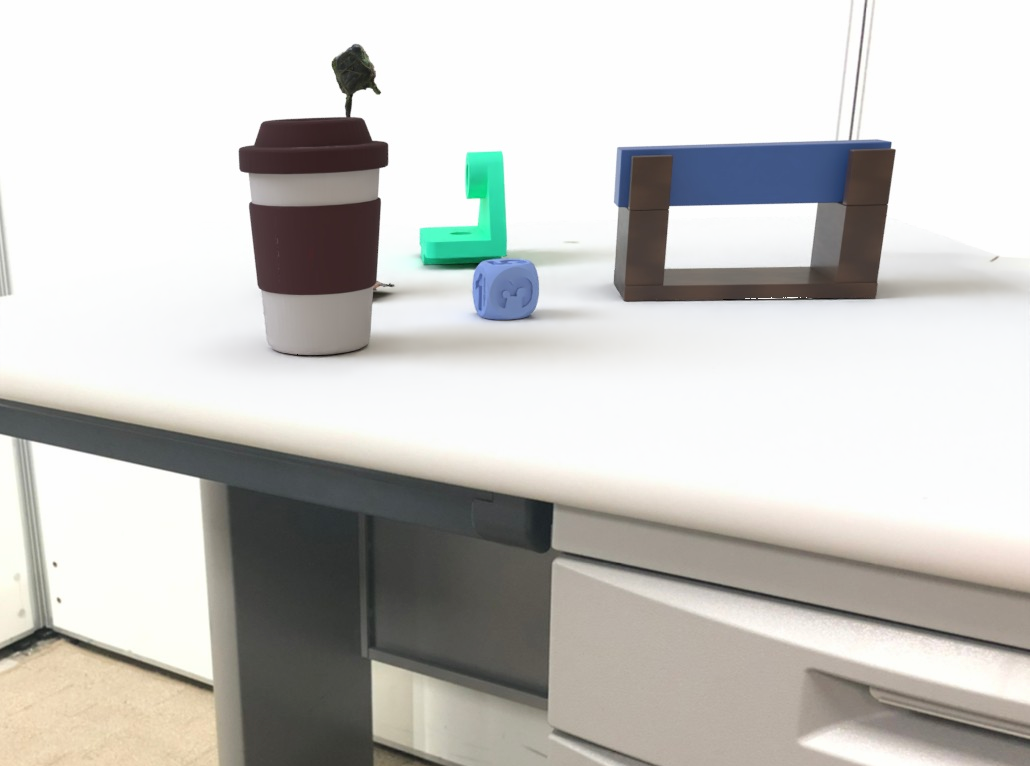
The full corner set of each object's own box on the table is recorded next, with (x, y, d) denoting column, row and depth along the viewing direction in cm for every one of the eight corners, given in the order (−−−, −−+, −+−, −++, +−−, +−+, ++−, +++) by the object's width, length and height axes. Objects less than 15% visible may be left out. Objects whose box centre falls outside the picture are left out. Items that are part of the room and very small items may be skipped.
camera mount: (418, 253, 126) (419, 150, 122) (491, 250, 125) (494, 147, 122) (426, 270, 115) (426, 157, 111) (506, 267, 114) (509, 154, 110)
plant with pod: (302, 284, 110) (294, 48, 102) (408, 292, 103) (407, 41, 96) (247, 298, 104) (234, 48, 96) (355, 307, 97) (350, 41, 90)
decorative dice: (471, 312, 93) (472, 260, 92) (520, 308, 94) (522, 257, 93) (487, 321, 90) (488, 267, 88) (538, 317, 90) (540, 264, 89)
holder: (844, 280, 101) (863, 142, 97) (875, 298, 93) (897, 149, 89) (613, 283, 104) (621, 150, 100) (623, 301, 96) (633, 156, 92)
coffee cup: (255, 333, 89) (244, 119, 83) (388, 330, 88) (387, 114, 83) (241, 362, 80) (229, 124, 74) (390, 359, 79) (389, 118, 73)
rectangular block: (870, 197, 96) (878, 139, 94) (883, 201, 92) (892, 141, 91) (613, 203, 99) (617, 147, 97) (617, 207, 96) (621, 149, 94)
